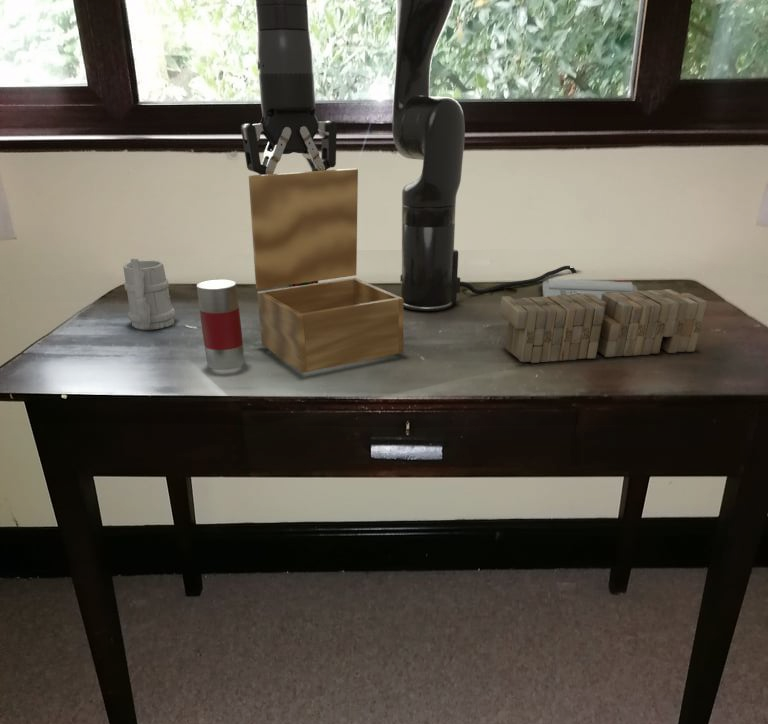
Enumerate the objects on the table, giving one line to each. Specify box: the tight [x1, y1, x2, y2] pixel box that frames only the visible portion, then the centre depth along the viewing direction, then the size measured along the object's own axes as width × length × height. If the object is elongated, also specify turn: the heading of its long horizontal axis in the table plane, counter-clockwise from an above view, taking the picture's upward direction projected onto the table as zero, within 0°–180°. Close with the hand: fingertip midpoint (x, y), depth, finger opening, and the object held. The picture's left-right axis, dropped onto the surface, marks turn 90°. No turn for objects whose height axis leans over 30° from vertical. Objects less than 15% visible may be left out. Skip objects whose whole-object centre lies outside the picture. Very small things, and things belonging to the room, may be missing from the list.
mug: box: [122, 258, 176, 331], centre depth 119 cm, size 8×12×12 cm, turn 7°
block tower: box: [499, 288, 708, 364], centre depth 108 cm, size 8×8×29 cm
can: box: [196, 279, 246, 371], centre depth 102 cm, size 5×5×12 cm
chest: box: [256, 277, 404, 374], centre depth 108 cm, size 15×17×9 cm
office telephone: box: [542, 278, 639, 299], centre depth 132 cm, size 23×3×20 cm
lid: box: [248, 167, 359, 290], centre depth 108 cm, size 15×17×5 cm
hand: (294, 201), depth 107 cm, fingers open, 6 cm apart
